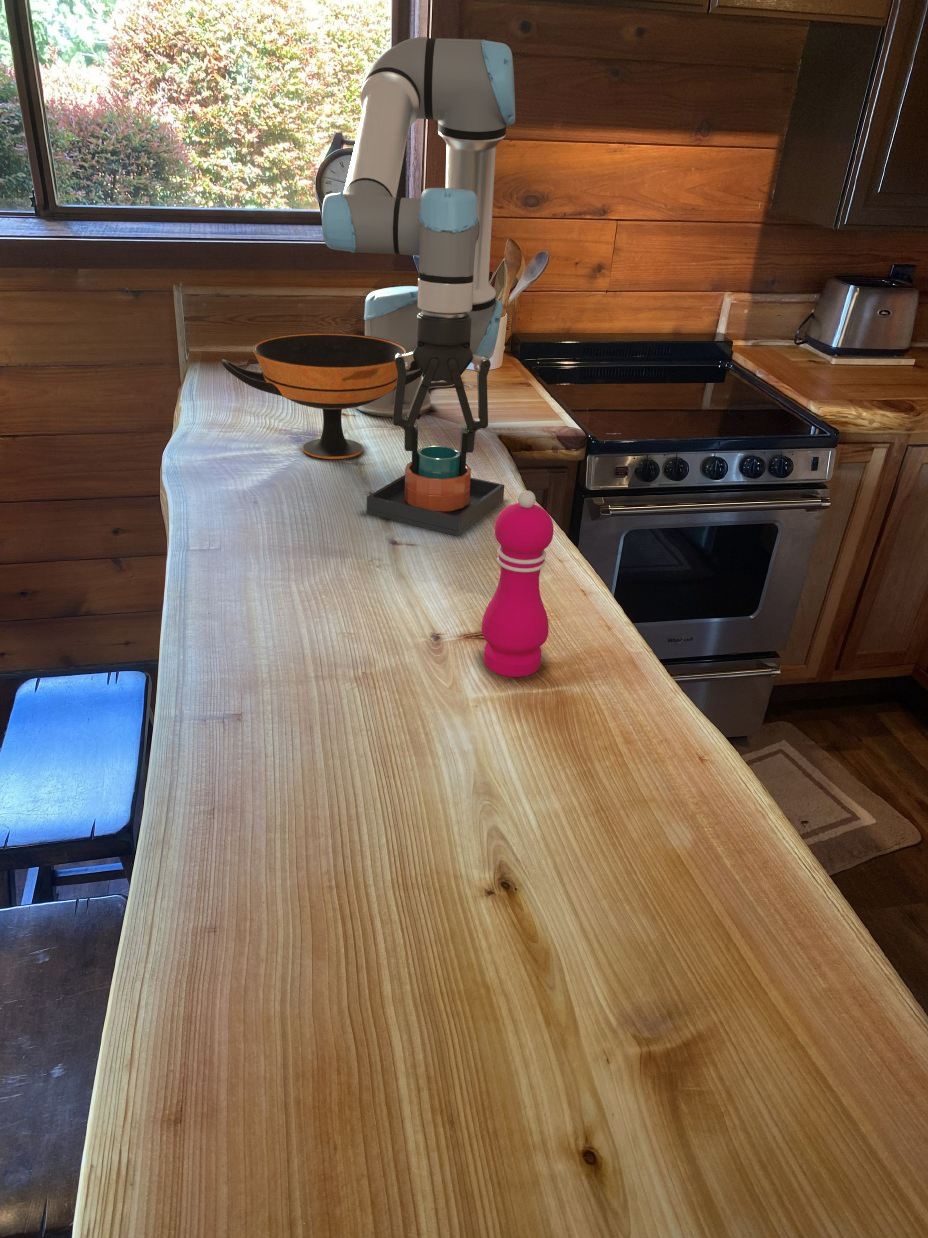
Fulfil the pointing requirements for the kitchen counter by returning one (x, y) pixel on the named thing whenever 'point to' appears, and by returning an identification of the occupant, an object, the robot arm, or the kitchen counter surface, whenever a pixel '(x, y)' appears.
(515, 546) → the pepper mill
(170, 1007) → the kitchen counter surface
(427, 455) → the bowl small
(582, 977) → the kitchen counter surface
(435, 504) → the bowl large
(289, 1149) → the kitchen counter surface
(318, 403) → the cup
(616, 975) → the kitchen counter surface
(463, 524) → the tray
